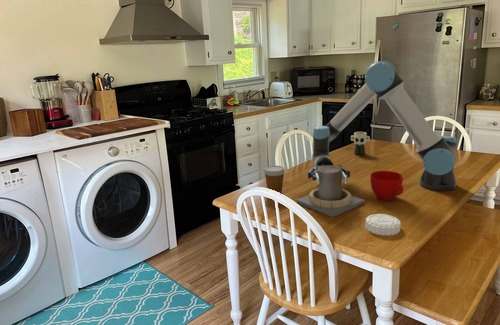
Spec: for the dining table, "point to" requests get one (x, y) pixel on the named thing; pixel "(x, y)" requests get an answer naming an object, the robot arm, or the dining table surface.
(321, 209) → the board
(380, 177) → the ceramic cup
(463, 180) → the dining table surface
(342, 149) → the dining table surface
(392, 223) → the mooncake
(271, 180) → the disposable coffee cup
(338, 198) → the pillar candle
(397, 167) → the dining table surface
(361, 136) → the character mug
